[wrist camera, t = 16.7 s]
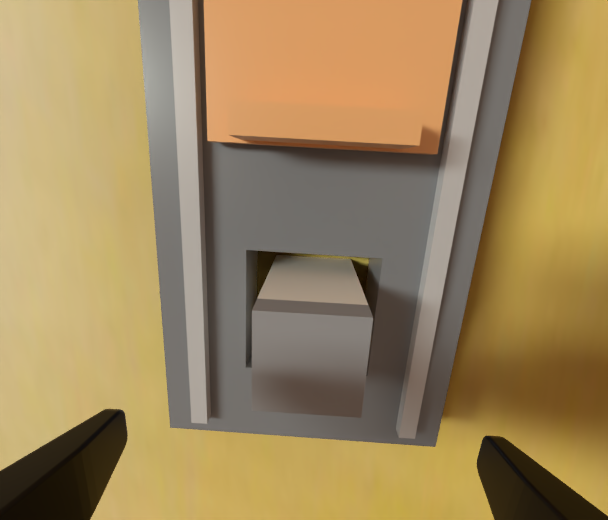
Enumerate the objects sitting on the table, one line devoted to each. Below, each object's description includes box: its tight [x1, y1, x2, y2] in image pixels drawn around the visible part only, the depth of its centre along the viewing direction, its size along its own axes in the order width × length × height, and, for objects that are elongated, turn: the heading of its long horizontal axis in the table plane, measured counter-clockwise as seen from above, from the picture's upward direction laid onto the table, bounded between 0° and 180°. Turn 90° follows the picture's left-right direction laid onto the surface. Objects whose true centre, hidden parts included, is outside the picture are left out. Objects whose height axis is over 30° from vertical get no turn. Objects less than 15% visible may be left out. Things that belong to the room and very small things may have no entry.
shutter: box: [204, 0, 462, 155], centre depth 10 cm, size 9×9×3 cm
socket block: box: [138, 0, 531, 447], centre depth 15 cm, size 22×14×4 cm, turn 177°
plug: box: [252, 255, 373, 418], centre depth 14 cm, size 4×4×7 cm
